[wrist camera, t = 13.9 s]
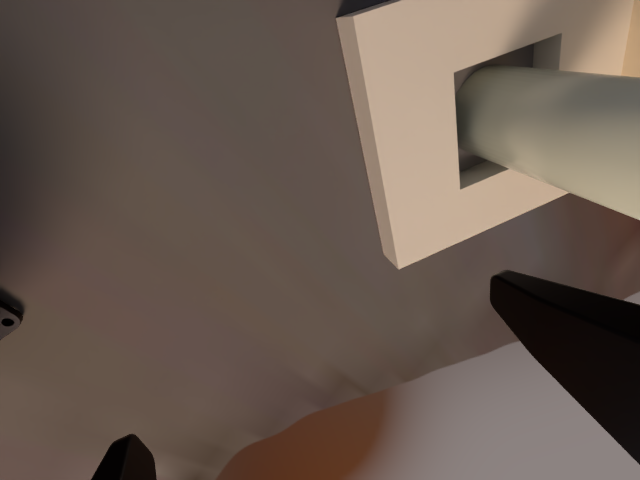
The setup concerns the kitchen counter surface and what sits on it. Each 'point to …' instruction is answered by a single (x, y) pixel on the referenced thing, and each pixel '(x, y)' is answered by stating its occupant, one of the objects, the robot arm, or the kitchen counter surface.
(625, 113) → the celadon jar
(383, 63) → the light wood frame
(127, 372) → the kitchen counter surface
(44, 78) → the kitchen counter surface
